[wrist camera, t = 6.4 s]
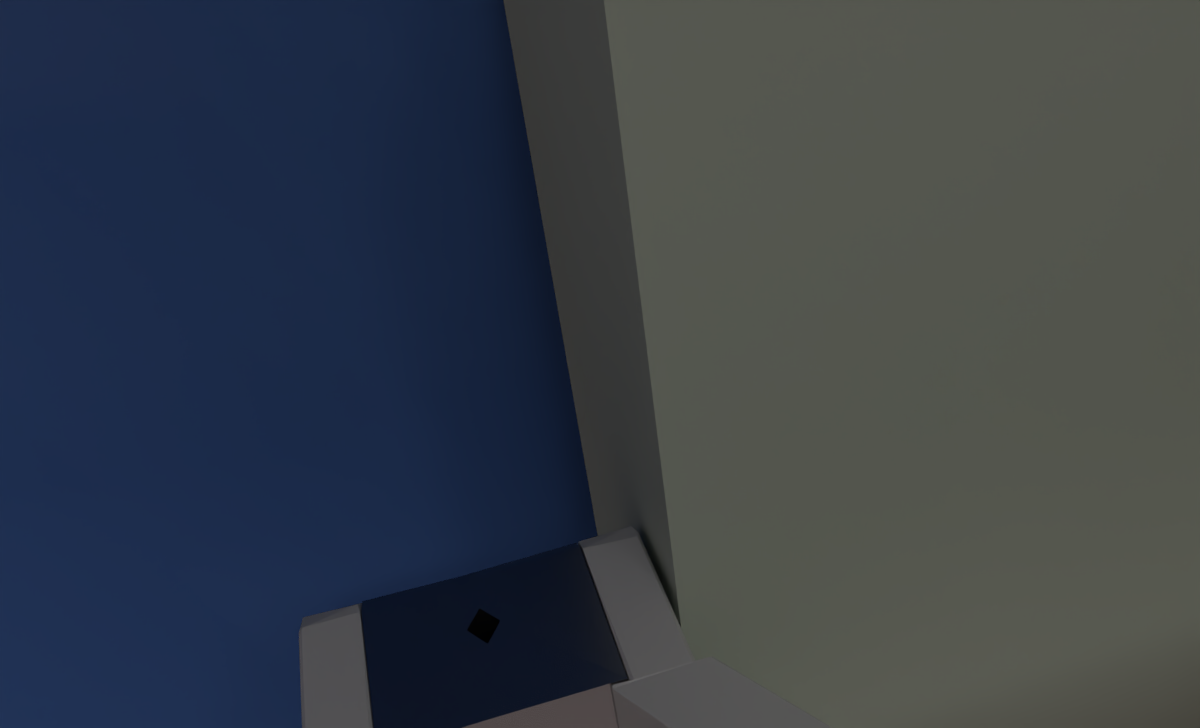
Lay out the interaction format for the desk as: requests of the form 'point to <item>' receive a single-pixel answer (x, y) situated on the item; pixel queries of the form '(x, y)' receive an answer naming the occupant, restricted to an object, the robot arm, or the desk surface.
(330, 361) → the desk surface
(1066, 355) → the case
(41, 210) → the desk surface
